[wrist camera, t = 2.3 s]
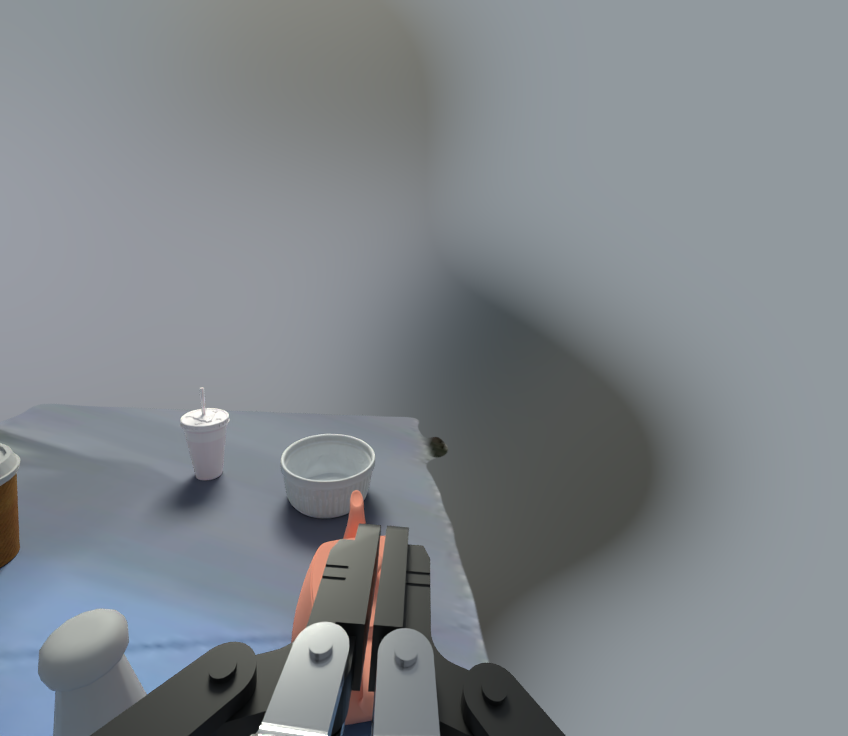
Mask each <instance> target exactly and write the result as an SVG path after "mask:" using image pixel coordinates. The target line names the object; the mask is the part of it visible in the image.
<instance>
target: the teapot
mask: <svg viewBox="0 0 848 736" xmlns="http://www.w3.org/2000/svg"><path fill="white" fill-rule="evenodd" d="M359 523H361V524H366V522H365V515H364V502H363V497H362V494H361V492H360V491H358V490H355V491H353V492H352V494H351V498H350V512H349V519H348V523H347V527H346V531H345V534H344V538H343V539H348V540H355V537H356V533H357V529H358V525H359ZM385 537H386V536H380V546H379V558H378V569H377V578H376V586H375V592H374V599H373V606H372V613H371V619H370V626H369V633H368V640H367V647H366V653H365V660H364V667H363V674H362V681H361V687H360V691H353V690H352V691H351V697H350V703H349V709H348V713H347V717H346V719H345V725H349V724H356V723H361V722H367V721H371V720H372V715H373V703H374V692H368V686H369V673H370V661H371V648H372V636H373V624H374V617H375V609H376V602H377V595H378V588H379V580H380V573H381V566H382V559H383V551H384V544H385ZM338 541H339V540H335V541H329V542H326V543H323V544H322V545H321V546H320V547H319V548H318V550H317V551H316V553H315V555H314V557H313V560H312V562H311V564H310V567H309V569H308V572H307V575H306V577H305V580H304V583H303V586H302V589H301V593H300V596H299V600H298V604H297V607H296V613H295V618H294V623H293V631H292V640H291V643H292V642H293V641H295V639H296V638H297V636H298V635H299V634H300V633H301V632H302V631H303V630H304V629H305V628H306V626H307V623H308V620H309V617H310V614H311V611H312V608H313V604H314V601H315V598H316V595H317V591H318V588H319V585H320V582H321V579H322V575H323V572H324V569H325V567H326V562H327V559H328V556H329V553H330V550H331V549H332V548H333V547H334V546H335V544H336V543H337V542H338Z"/></svg>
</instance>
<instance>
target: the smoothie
mask: <svg viewBox="0 0 848 736" xmlns="http://www.w3.org/2000/svg"><path fill="white" fill-rule="evenodd" d="M200 399H201V409H198V410H194V411H191V412H188V413H186V414H185V415H183V416H182V417H181V419H180V421H181V424H180V426H181V428H182V429H183V430H184V432H185V436H186V440H187V444H188V448H189V452H190V456H191V460H192V464H193V468H194V472H195V476H196V478H197V479H199V480H211V479H215V478H217V477H219V476H220V475H221V474H222V472H223V461H224V450H225V439H226V428H227V424H228V423H229V414H228V413H227V412H226V411H224V410H221V409H216V408H205V395H204V388H203V387H202V388H200Z"/></svg>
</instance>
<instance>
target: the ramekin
mask: <svg viewBox="0 0 848 736" xmlns="http://www.w3.org/2000/svg"><path fill="white" fill-rule="evenodd" d="M374 466H375V453H374V451H373V449H372V448H371V447H370V446H369V445H368V444H367V443H365V442H364V441H362V440H360V439H357V438H355V437H351V436H347V435H340V434H322V435H315V436H310V437H307V438H304V439H301V440H299V441H297V442H295V443H293V444H292V445H290V446H289V447H288V448H287V449H286V450H285V451H284V452H283V454H282V457H281V472H282V474H283V476H284V482H285V488H286V493H287V497H288V500H289V502H290V503H291V505H292V506H293V507H294V508H295V509H297V510H298V511H299V512H301V513H302V514H304V515H307V516H310V517H314V518H334V517H339V516H343V515H345V514H348V513H349V512H350V498H351V494H352V492H353V491H355V490H358V491H360V492H361V494H362V497H363V501H364V499H365V498H366V495H367V493H368V489H369V485H370V480H371V475H372V471H373V469H374Z"/></svg>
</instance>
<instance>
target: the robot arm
mask: <svg viewBox="0 0 848 736" xmlns="http://www.w3.org/2000/svg"><path fill="white" fill-rule="evenodd" d="M408 532H409V528H408V527H396V526H387V529H386V537H385V544H384V551H383V559H382V566H381V573H380V580H379V588H378V595H377V602H376V609H375V617H374V624H373V636H372V648H371V661H370V673H369V686H368V692H374V703H373V715H372V726H371V736H565V735H564V733H563V732H562V731H561V730H560V729H559V728H558V727H557V726H556V724H555V723H554V722H553V721H552V720H551V719H550V717H549V716H548V715H547V714H546V713H545V712H544V711H543V709H542V708H540V706H539V705H538V704H537V703H536V702H535V701H534V699H533V698H532V697H531V696H530V695H529V694H528V692H527V691H526V690H525V689H524V688H523V687H522V686H521V685H520V683H519V682H518V681H517V680H516V679H515V678H514V676H513V675H511V673H510V672H508V671H507V670H506V669H505V668H502V667H501V666H499V665H496V664H493V663H481V664H478V665H476V666H474V667H472V668H471V669H470V670H467V669H464V668H462V667H460V666H457V665H455V664H453V663H451V662H449V661H448V660H446V659H445V658H444V657H443V656H442V655H441V654H440V653H439V652H438V651H437V649H436V647H435V646H434V643H433V641H432V637H431V611H430V558H429V556H428V554H427V552H426V550H425V548H424V546H419V545H408ZM380 533H381V525H372V524H361V523H359V525H358V529H357V533H356V537H355V540H348V539H340V540H339V541H338V542H337V543H336V544H335V546H334V547H333V548H332V549H331V550H330V553H329V556H328V559H327V562H326V567H325V569H324V572H323V575H322V579H321V582H320V585H319V588H318V591H317V595H316V598H315V601H314V604H313V608H312V611H311V614H310V617H309V620H308V623H307V626H306V628H305V629H304V630H303V631H302V632H301V633H300V634H299V635H298V636H297V638H296V639H295V641H293V642H292V643H290V644H289V645H287V646H285V647H283V648H281V649H278V650H274V651H270V652H266V653H262V654H258V655H255V653H254V651H253V650H252V649H251V648H250V647H249V646H248V645H246V644H244V643H241V642H228V643H224V644H221V645H218V646H216V647H214V648H213V649H211V650H209V651H208V652H206V653H205V654H204V655H202V656H201V657H199V658H198V659H197V660H195V661H194V662H192V663H191V664H190V665H188V666H187V667H185V668H184V669H183V670H181V671H180V672H178V673H177V674H176V675H174V676H173V677H171V678H170V679H169V680H167V681H166V682H164V683H163V684H162V685H160V686H159V687H157V688H156V689H155V690H153V691H152V692H150V693H149V694H148V695H146V696H145V697H143V698H142V699H140V700H139V701H138V702H136V703H135V704H133V705H132V706H131V707H129V708H128V709H126V710H125V711H124V712H122V713H121V714H119V715H118V716H117V717H115V718H114V719H112V720H111V721H110V722H108V723H107V724H105V725H104V726H103V727H101V728H100V729H98V730H97V731H96V732H94V733H93V734H91V735H90V736H342V735H343V731H344V726H345V719H346V717H347V713H348V709H349V703H350V697H351V691H352V690H353V691H360V687H361V681H362V674H363V667H364V660H365V653H366V647H367V640H368V633H369V626H370V619H371V613H372V606H373V599H374V592H375V586H376V578H377V569H378V558H379V546H380Z"/></svg>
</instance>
